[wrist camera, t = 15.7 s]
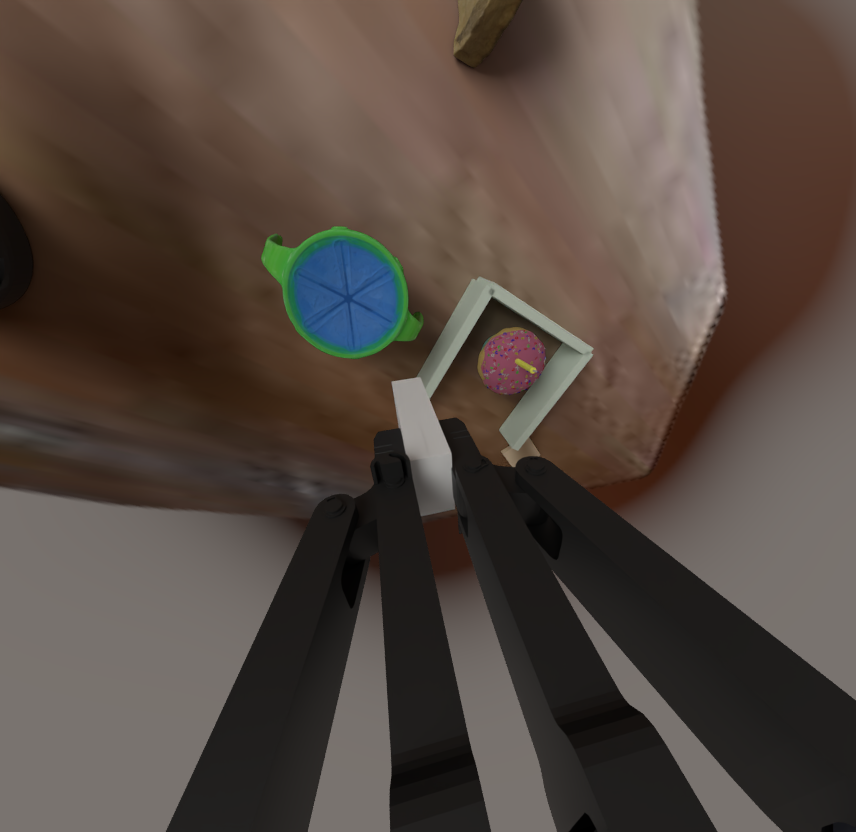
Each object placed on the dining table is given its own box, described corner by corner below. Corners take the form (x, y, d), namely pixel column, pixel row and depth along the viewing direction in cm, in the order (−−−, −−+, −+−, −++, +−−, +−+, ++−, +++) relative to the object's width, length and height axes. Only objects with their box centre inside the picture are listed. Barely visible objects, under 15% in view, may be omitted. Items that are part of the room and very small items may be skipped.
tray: (504, 432, 50) (518, 450, 46) (408, 390, 44) (413, 407, 39) (574, 339, 44) (596, 350, 40) (475, 273, 37) (489, 279, 33)
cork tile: (512, 466, 55) (515, 471, 54) (499, 449, 53) (502, 453, 52) (537, 450, 54) (540, 455, 53) (525, 432, 52) (528, 436, 51)
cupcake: (458, 338, 41) (491, 374, 31) (517, 306, 40) (570, 331, 30) (481, 389, 46) (516, 435, 35) (535, 361, 45) (586, 399, 35)
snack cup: (261, 282, 34) (227, 300, 25) (306, 186, 31) (284, 168, 22) (384, 357, 41) (391, 391, 32) (433, 284, 37) (455, 301, 29)
